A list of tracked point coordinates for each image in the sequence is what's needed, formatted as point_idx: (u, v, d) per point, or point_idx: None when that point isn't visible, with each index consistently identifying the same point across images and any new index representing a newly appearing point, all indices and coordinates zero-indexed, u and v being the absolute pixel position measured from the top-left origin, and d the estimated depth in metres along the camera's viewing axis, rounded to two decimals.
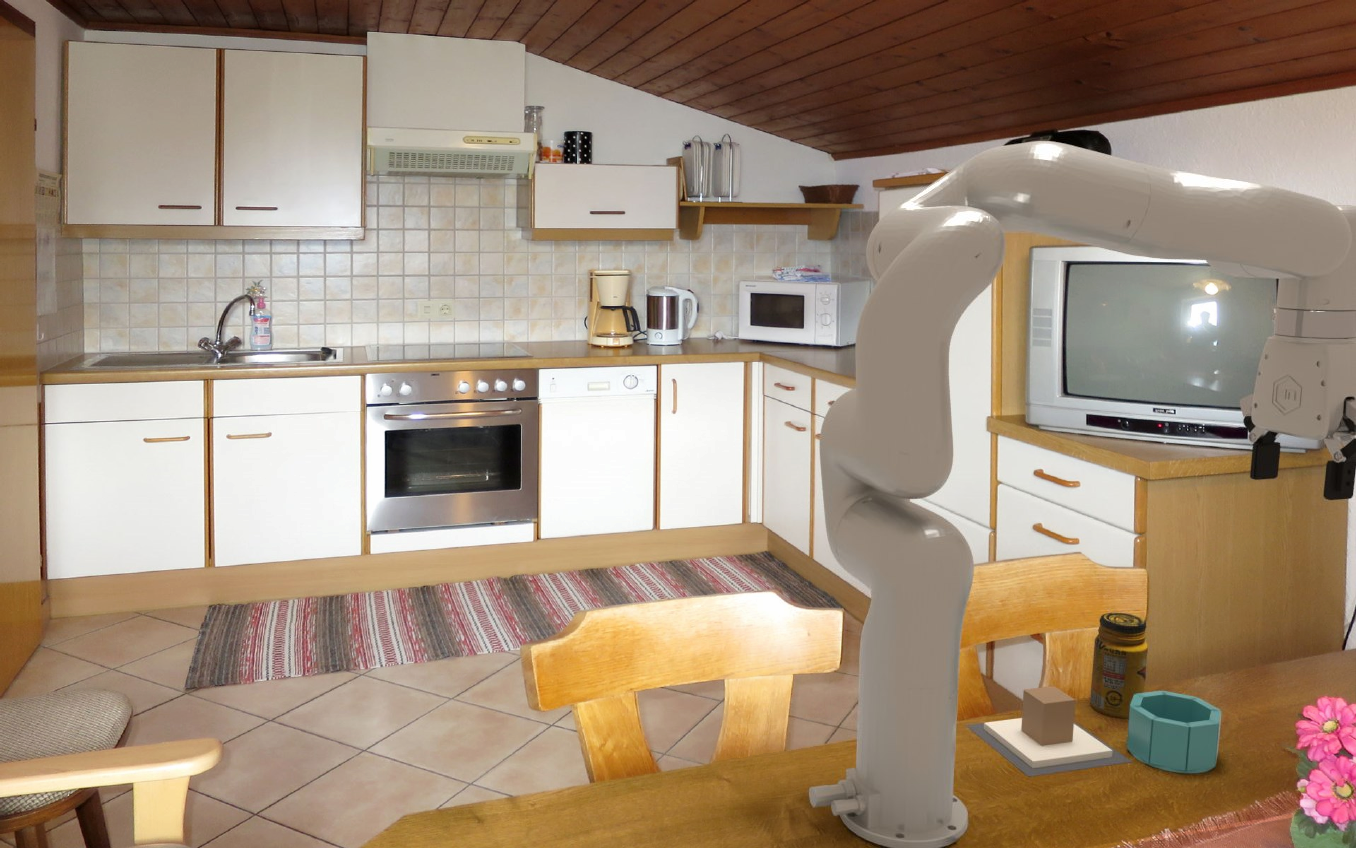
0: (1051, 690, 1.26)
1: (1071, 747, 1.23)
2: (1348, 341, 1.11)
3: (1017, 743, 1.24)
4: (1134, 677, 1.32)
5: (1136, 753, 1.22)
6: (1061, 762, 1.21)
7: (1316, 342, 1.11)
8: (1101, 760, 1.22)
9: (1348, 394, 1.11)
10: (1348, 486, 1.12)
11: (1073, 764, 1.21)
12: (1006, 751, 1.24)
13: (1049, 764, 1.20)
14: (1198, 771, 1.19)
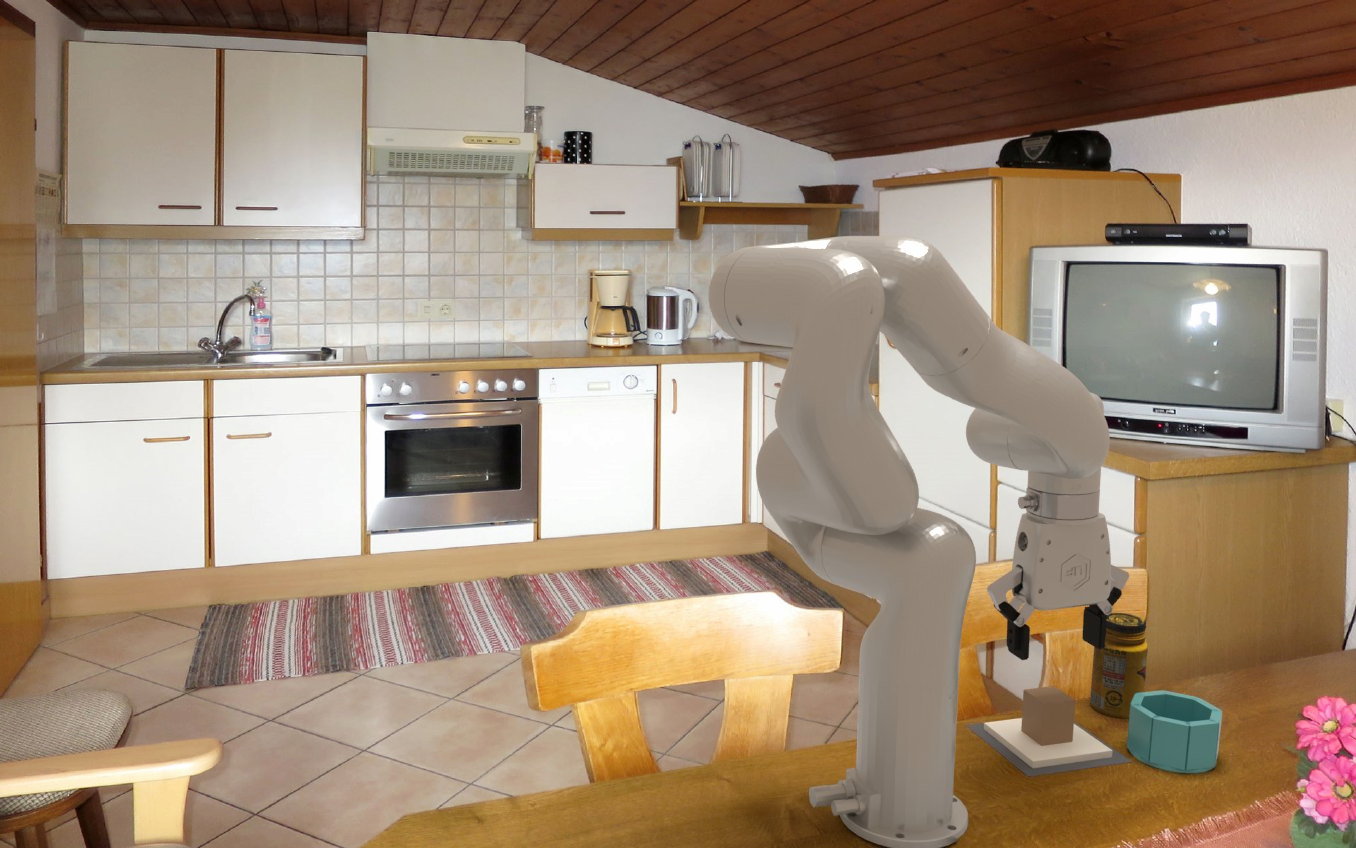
0: (1051, 690, 1.26)
1: (1071, 747, 1.23)
2: None
3: (1017, 743, 1.24)
4: (1134, 677, 1.32)
5: (1136, 752, 1.22)
6: (1061, 762, 1.21)
7: (1097, 518, 1.20)
8: (1101, 760, 1.22)
9: None
10: None
11: (1073, 764, 1.21)
12: (1006, 751, 1.24)
13: (1049, 764, 1.20)
14: (1198, 770, 1.19)
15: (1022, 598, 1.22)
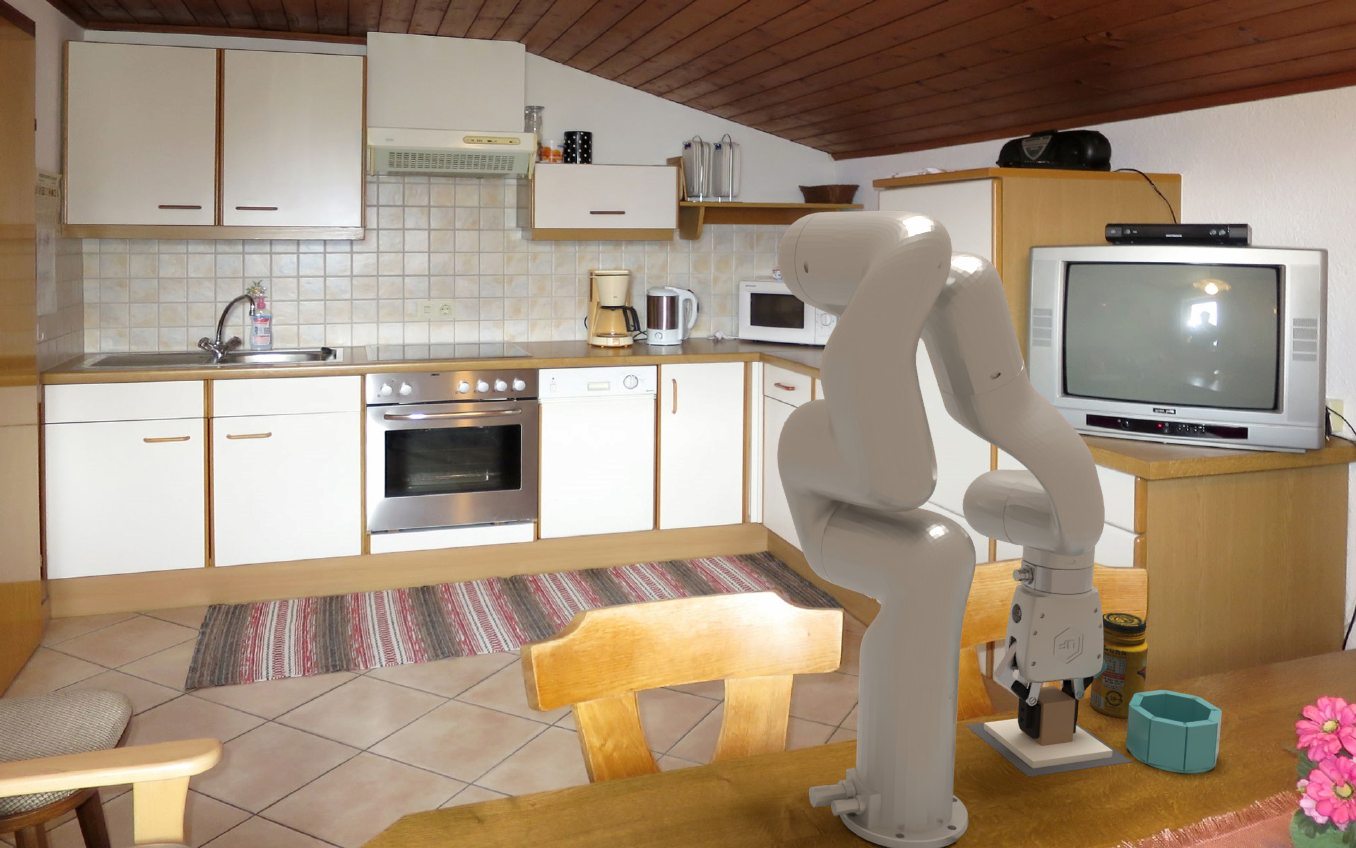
0: (1051, 690, 1.26)
1: (1071, 747, 1.23)
2: None
3: (1017, 743, 1.24)
4: (1134, 677, 1.32)
5: (1135, 752, 1.23)
6: (1061, 762, 1.21)
7: (1091, 592, 1.21)
8: (1101, 760, 1.22)
9: None
10: None
11: (1073, 764, 1.21)
12: (1006, 751, 1.24)
13: (1049, 764, 1.20)
14: (1196, 771, 1.19)
15: None
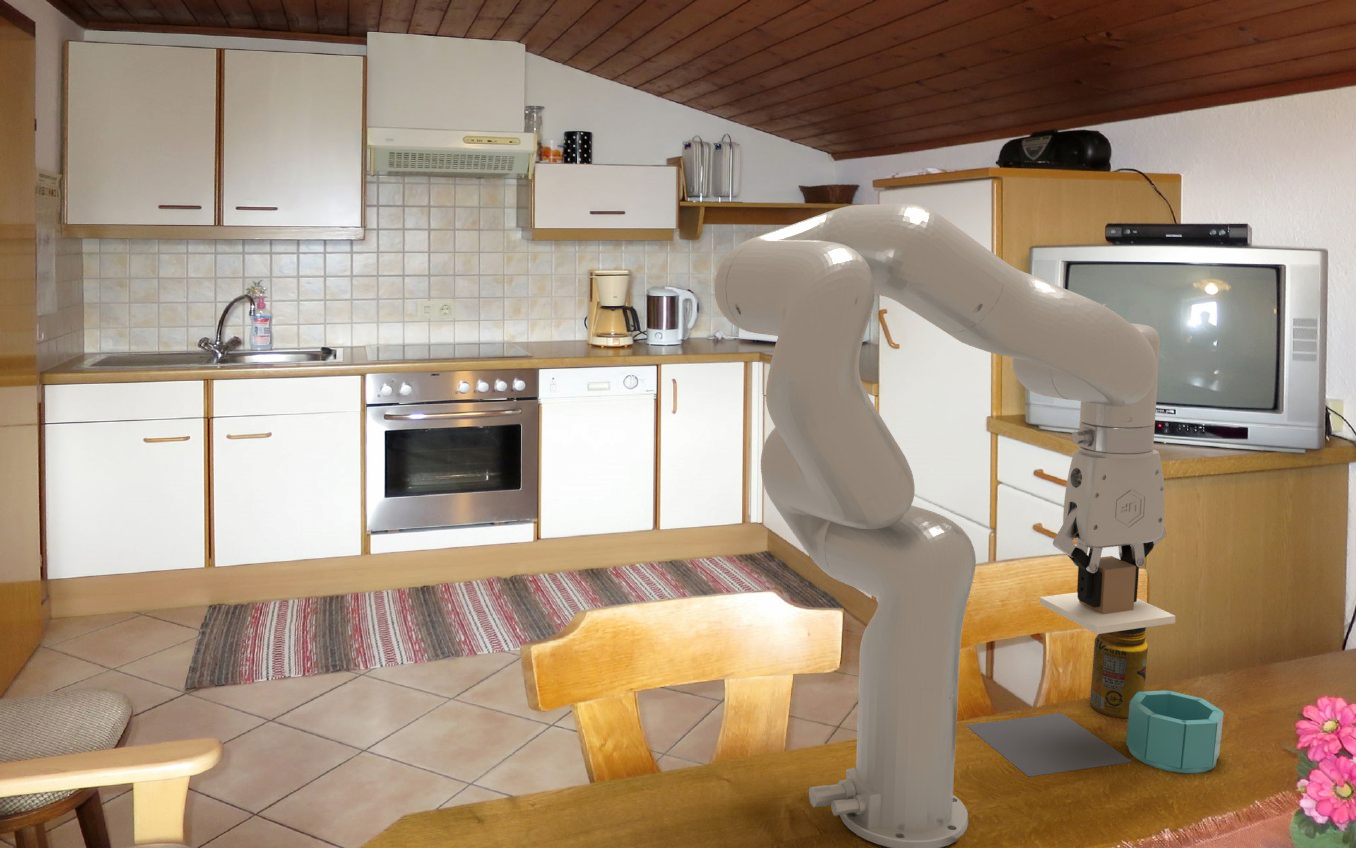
0: (1109, 559, 1.23)
1: (1132, 614, 1.20)
2: None
3: (1077, 612, 1.21)
4: (1134, 677, 1.32)
5: (1134, 749, 1.23)
6: (1125, 628, 1.18)
7: None
8: (1101, 760, 1.22)
9: None
10: None
11: (1073, 764, 1.21)
12: (1006, 751, 1.24)
13: (1113, 630, 1.17)
14: (1194, 770, 1.19)
15: (1085, 544, 1.20)
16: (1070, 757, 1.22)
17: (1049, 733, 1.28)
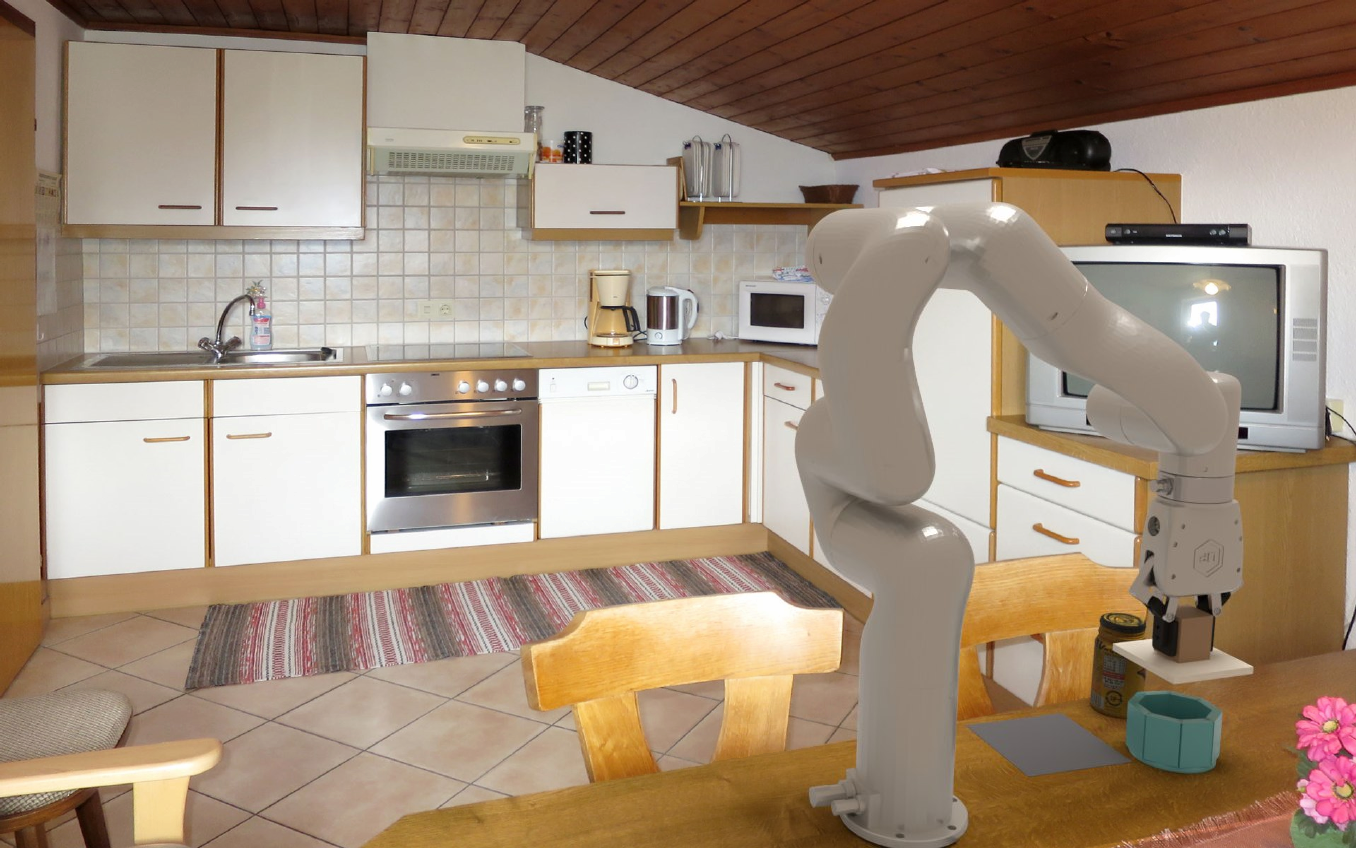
0: (1185, 607, 1.22)
1: (1209, 664, 1.19)
2: None
3: (1153, 661, 1.20)
4: (1134, 677, 1.32)
5: (1132, 749, 1.23)
6: (1202, 678, 1.17)
7: (1231, 503, 1.17)
8: (1101, 760, 1.22)
9: None
10: None
11: (1073, 764, 1.21)
12: (1006, 751, 1.24)
13: (1190, 680, 1.16)
14: (1192, 769, 1.19)
15: (1161, 592, 1.20)
16: (1070, 757, 1.22)
17: (1049, 733, 1.28)
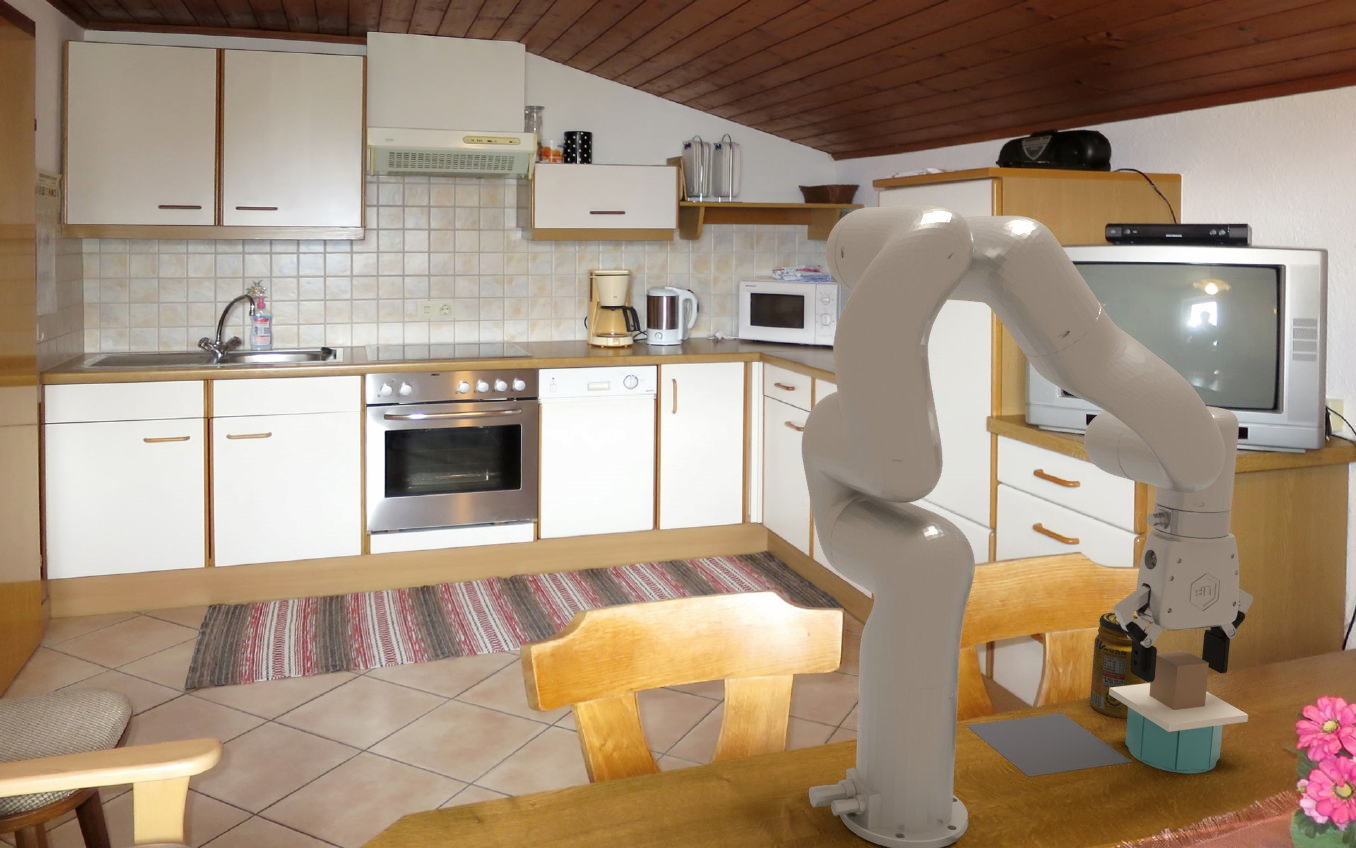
0: (1181, 653, 1.23)
1: (1204, 711, 1.20)
2: None
3: (1148, 707, 1.21)
4: (1134, 677, 1.32)
5: (1131, 749, 1.23)
6: (1197, 726, 1.18)
7: None
8: (1101, 760, 1.22)
9: None
10: None
11: (1073, 764, 1.21)
12: (1006, 751, 1.24)
13: (1185, 728, 1.17)
14: (1189, 771, 1.19)
15: (1148, 618, 1.20)
16: (1070, 757, 1.22)
17: (1049, 733, 1.28)
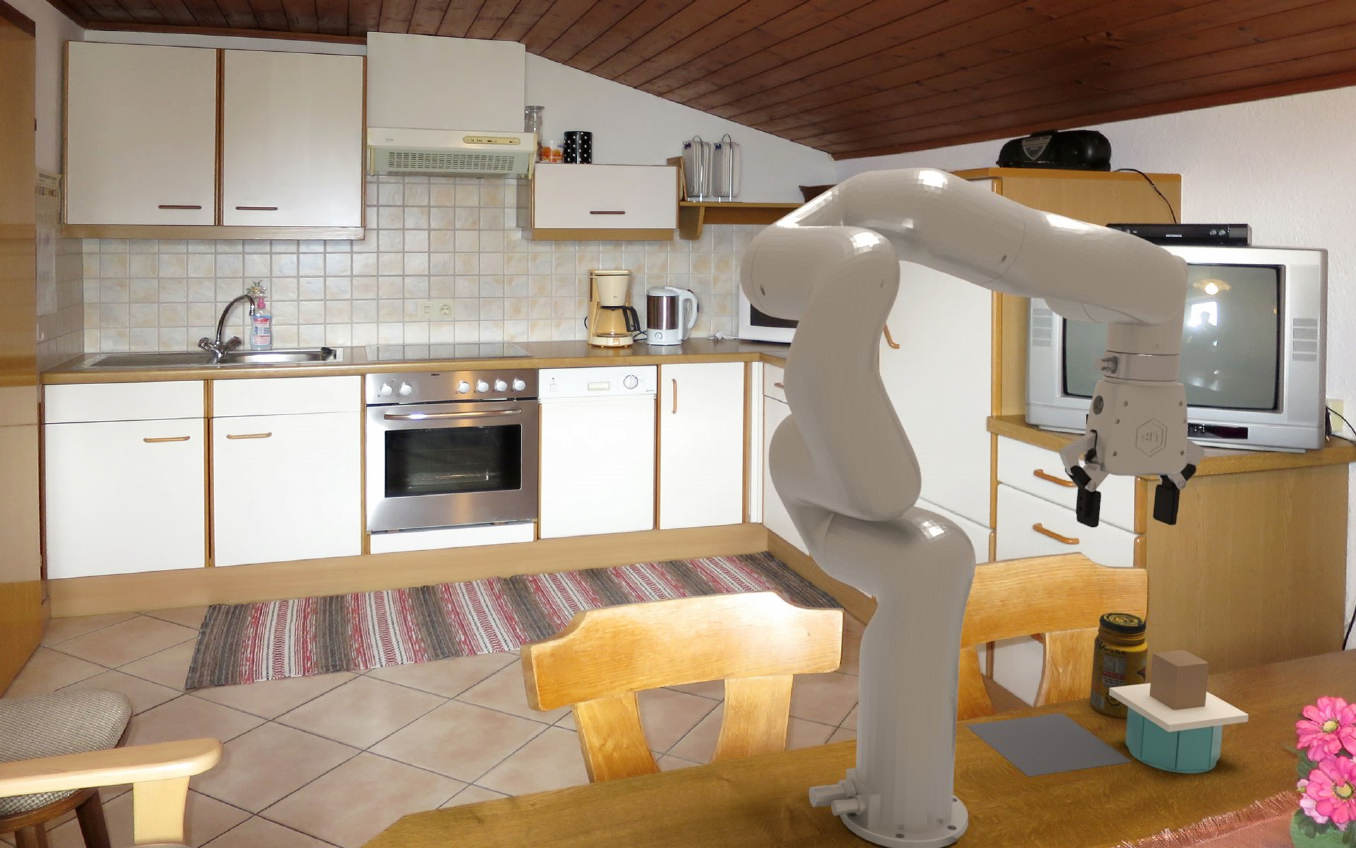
0: (1181, 654, 1.23)
1: (1204, 711, 1.20)
2: None
3: (1148, 707, 1.21)
4: (1134, 677, 1.32)
5: (1131, 749, 1.23)
6: (1197, 726, 1.18)
7: (1176, 384, 1.18)
8: (1101, 760, 1.22)
9: None
10: None
11: (1073, 764, 1.21)
12: (1006, 751, 1.24)
13: (1185, 728, 1.17)
14: (1189, 771, 1.19)
15: (1094, 464, 1.20)
16: (1070, 757, 1.22)
17: (1049, 733, 1.28)
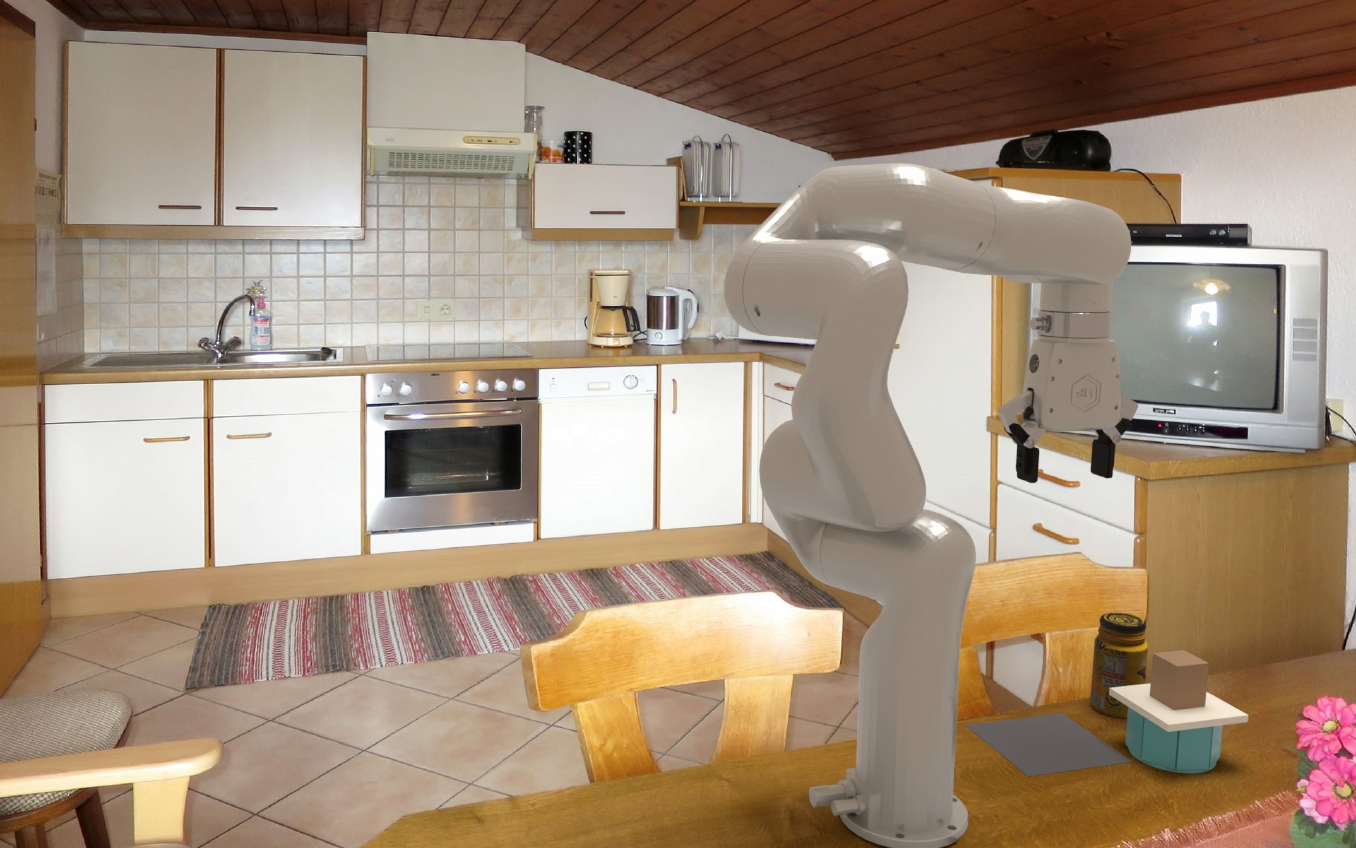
0: (1181, 654, 1.23)
1: (1204, 711, 1.20)
2: None
3: (1148, 707, 1.21)
4: (1134, 677, 1.32)
5: (1131, 749, 1.23)
6: (1197, 726, 1.18)
7: (1108, 340, 1.21)
8: (1101, 760, 1.22)
9: None
10: None
11: (1073, 764, 1.21)
12: (1006, 751, 1.24)
13: (1184, 728, 1.17)
14: (1189, 771, 1.19)
15: (1032, 422, 1.23)
16: (1070, 757, 1.22)
17: (1049, 733, 1.28)
